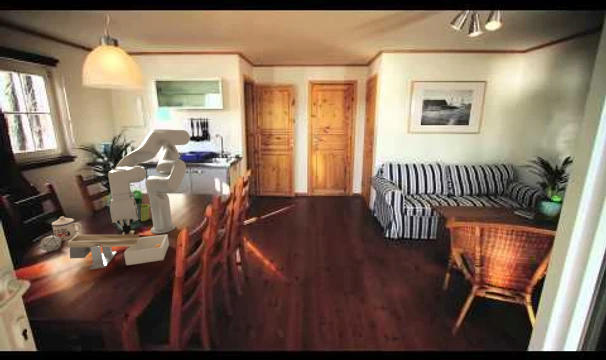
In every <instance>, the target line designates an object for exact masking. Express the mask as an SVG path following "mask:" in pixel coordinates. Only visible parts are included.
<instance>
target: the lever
mask: <svg viewBox="0 0 606 360" xmlns="http://www.w3.org/2000/svg"><path fill="white" fill-rule="evenodd" d="M139 238H140V234H135V230H131V231H130V232H129V234H127V233H126V234H124V232H123V231H122V234H77V235H76V236H74V237H73V238H71V239H69V240H68V242H67V248H69V259H85V258H87V256H89V254H90V253H91V249H90V248H91V246H98V245H100V247H101V248H102V247H111V248H115V247H117V248H118V247H121V248H123V247H126V248H128V247H131V246H135V245H136V244H137V242H138V240H139Z"/></svg>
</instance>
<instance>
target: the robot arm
mask: <svg viewBox="0 0 606 360" xmlns="http://www.w3.org/2000/svg"><path fill="white" fill-rule="evenodd" d="M190 139H191V136H190V133H189V132H188V131H187V130H185V129H184V130H183V129H160V128H159V129H157V128H156V129H152V130H151V131H150V132H149V133H148V134H147V136H146V137H145V139H144V140H143V142H142V143H141V144H140V146H138V148H137V149H134V150H133V151H131V152H130V153H128V154H126V155H125V156H124V157H123V158H121V159H120V160H119V162H117V164H116V166H115V168H114V169H112V170H110V171H108V173H107V176H108V182H109V188H110V193H111V199H110V206H109V207H110V208H109V209H110V217H111V223H114V224H115V223H117V224H118V225H120V226H121V227H122V233H123V232H124V234H126V233H127V234H129V232H130V231H132V226H131V224H132V223H133V222H136V221H137V220H138V219H139V218H138V216H137V215H138V209H137V206H138V205H137V202H136V200H135V197H134V196H136V195H135V192H132V191H131V185H130V184H135V183H140V182H143V181H144V180H145V179H146V180H145V188H146V191H147V195H148V198H149V205H150V210H151V211H150V212H151V218H152V219H151V220H152V227H151V228H150V232H151V233H152V234H156V235H157V234H160V235H161V234H166V233H169V232H171V231H173V230H175V229H176V224H174V223H173V219H172V212H171V211H172V210H171V203H170V198H169V195H168V194H175V193H177V192H178V191H179V189H180V187H181V185H182V183H183V180H184V178H185V176H186V173H187V165H186V163H185V161H183V160H181V159H179V155H180V153H179V151H178V149H177V147H176V146H185V145H187V144H189V142H190ZM161 149H162V154H161V156H160V158H159V160H158V162H157V165H156V167H155V171H156V173H157V174H155V175H150V176H148V177H147V171H146V170H145V169H144V168H142V167H140V166H137V165H139V164H141V163H144V162H148V161H151V160H153V159H155V157H156V156H157V155H158V153H159V152H160V150H161ZM146 177H147V178H146ZM125 220H126V221H125Z"/></svg>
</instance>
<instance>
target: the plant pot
mask: <svg viewBox="0 0 606 360" xmlns="http://www.w3.org/2000/svg"><path fill="white" fill-rule="evenodd" d="M140 205H141V221H140V222H146V221H148V220H149V217H150V215H149V213H150V212H149V211H150V208H151V205H150V204H140Z"/></svg>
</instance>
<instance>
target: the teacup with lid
mask: <svg viewBox="0 0 606 360" xmlns="http://www.w3.org/2000/svg"><path fill="white" fill-rule="evenodd" d="M76 226H78V227H79V229H78V230H77V229H76ZM51 227H52V231H53V235H54V236H56V237H58V238H60V239H63V238H64V239H63V240H62V241H67V240H68V241H69V240H71V239H72V238H73V237H74V236H76V235H78V233H79V232H81V230H82V229H83V228H82V224H81V223H77V222H76V223H75V219H74V218H71V217H70V218H68V217H65V216H60V217H59V218H58V219H57V220H55V221H52V223H51ZM62 241H61V242H62Z"/></svg>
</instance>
